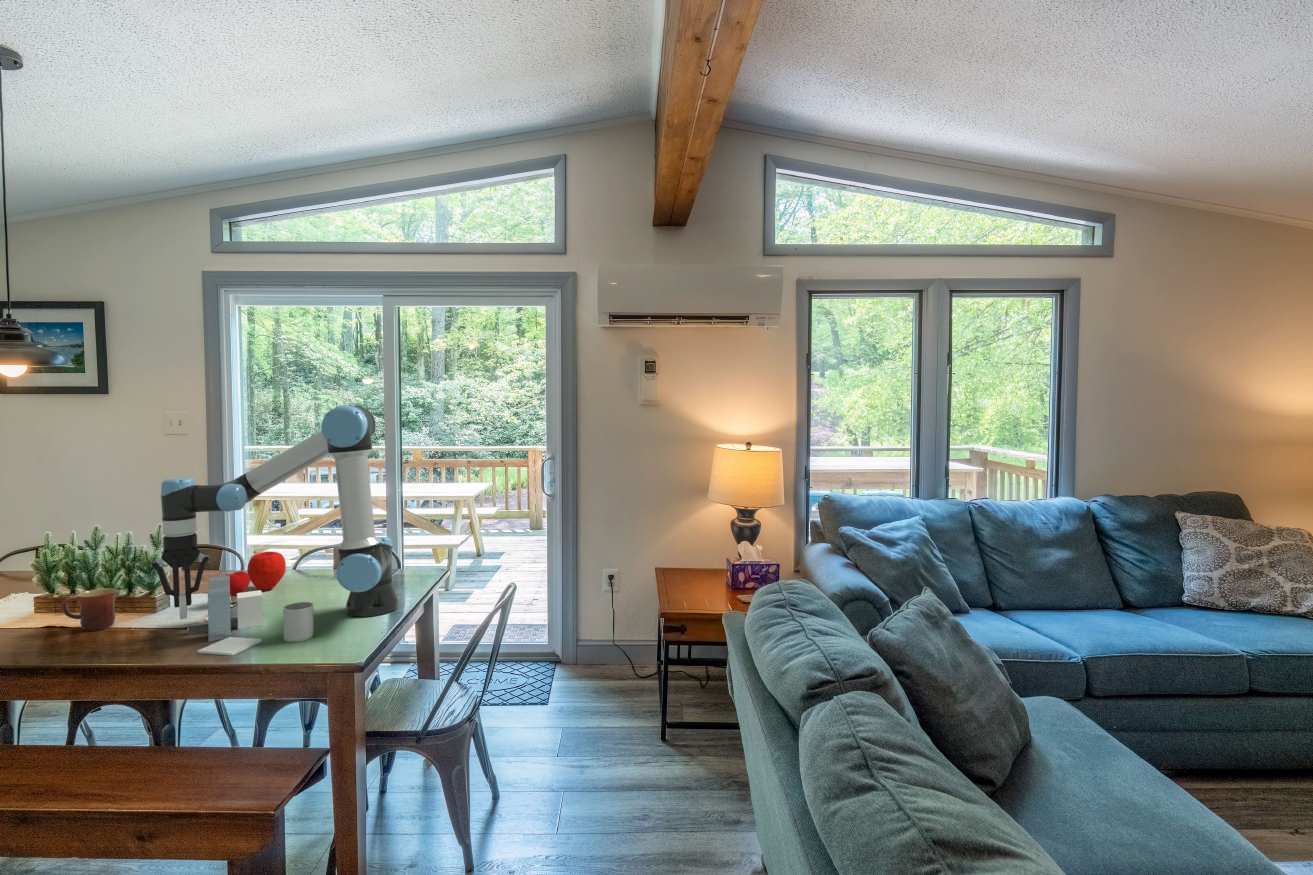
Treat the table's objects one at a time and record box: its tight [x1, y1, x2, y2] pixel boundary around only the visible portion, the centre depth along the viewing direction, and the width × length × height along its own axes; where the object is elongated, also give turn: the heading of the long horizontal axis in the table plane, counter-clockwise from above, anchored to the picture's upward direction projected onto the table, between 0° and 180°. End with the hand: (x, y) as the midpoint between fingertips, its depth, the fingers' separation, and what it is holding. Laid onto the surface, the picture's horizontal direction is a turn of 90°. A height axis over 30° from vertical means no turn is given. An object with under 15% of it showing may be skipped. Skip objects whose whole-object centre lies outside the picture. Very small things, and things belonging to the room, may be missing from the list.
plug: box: [187, 589, 263, 636], centre depth 181 cm, size 18×6×9 cm, turn 125°
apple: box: [246, 551, 287, 592], centre depth 220 cm, size 12×12×13 cm
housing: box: [207, 575, 232, 642], centre depth 180 cm, size 5×20×13 cm, turn 35°
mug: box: [61, 587, 119, 632], centre depth 179 cm, size 12×9×10 cm
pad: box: [197, 636, 263, 656], centre depth 167 cm, size 10×10×1 cm
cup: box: [282, 601, 314, 643], centre depth 175 cm, size 7×10×9 cm
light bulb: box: [224, 570, 251, 604], centre depth 204 cm, size 9×7×10 cm
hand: (183, 617), depth 175 cm, fingers closed
